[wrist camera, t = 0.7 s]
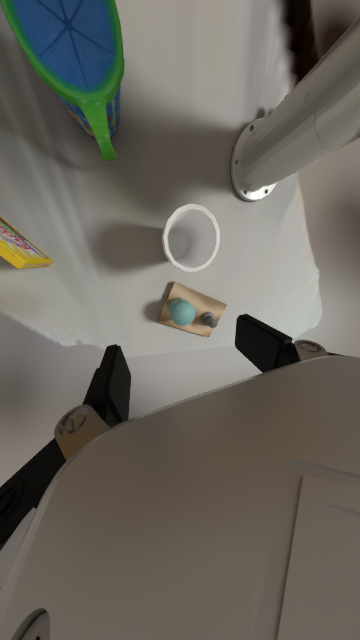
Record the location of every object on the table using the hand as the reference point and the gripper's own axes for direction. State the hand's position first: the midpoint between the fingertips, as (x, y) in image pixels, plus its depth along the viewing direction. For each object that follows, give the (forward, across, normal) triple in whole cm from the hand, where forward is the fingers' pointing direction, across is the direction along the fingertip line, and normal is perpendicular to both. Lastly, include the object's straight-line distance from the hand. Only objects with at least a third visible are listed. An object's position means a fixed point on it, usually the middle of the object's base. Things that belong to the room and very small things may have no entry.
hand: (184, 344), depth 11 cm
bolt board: (+28, -10, +10) cm, 32 cm away
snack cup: (+28, +4, -29) cm, 41 cm away
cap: (+27, -6, +8) cm, 29 cm away
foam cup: (+28, -7, -8) cm, 30 cm away
